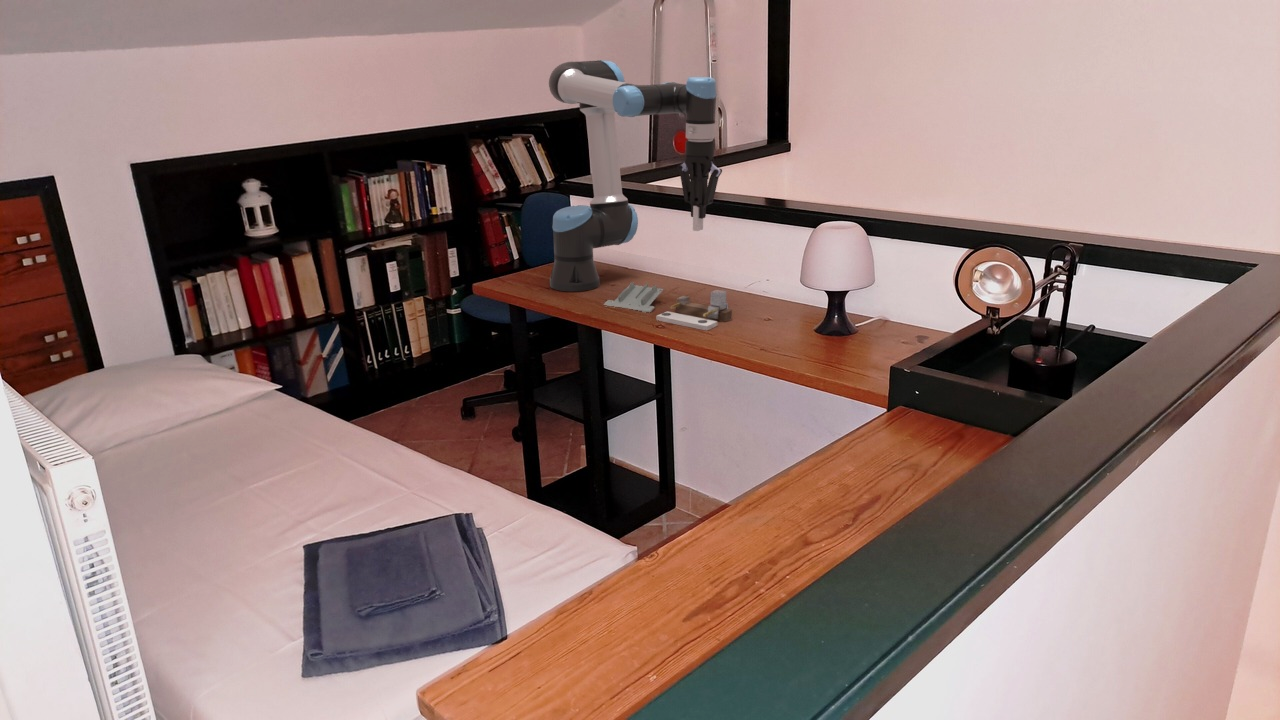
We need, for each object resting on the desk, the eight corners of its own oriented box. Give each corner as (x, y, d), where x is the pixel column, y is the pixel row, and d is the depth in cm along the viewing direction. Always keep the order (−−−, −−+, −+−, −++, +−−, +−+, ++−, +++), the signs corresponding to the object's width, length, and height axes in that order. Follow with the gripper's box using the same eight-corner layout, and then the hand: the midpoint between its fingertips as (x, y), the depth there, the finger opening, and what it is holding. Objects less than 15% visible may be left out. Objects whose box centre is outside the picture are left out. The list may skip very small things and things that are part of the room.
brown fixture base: (666, 315, 246) (666, 301, 245) (681, 309, 252) (681, 295, 250) (716, 326, 237) (717, 311, 236) (731, 319, 242) (731, 304, 241)
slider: (699, 320, 239) (699, 296, 236) (718, 312, 246) (718, 288, 243) (708, 322, 237) (709, 298, 235) (728, 314, 244) (728, 290, 242)
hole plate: (656, 320, 243) (656, 315, 242) (667, 315, 246) (667, 310, 246) (706, 330, 233) (707, 325, 233) (717, 325, 237) (717, 321, 237)
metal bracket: (624, 276, 264) (670, 282, 257) (627, 294, 267) (673, 300, 260) (599, 302, 254) (647, 309, 247) (603, 319, 257) (650, 327, 250)
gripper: (671, 139, 237) (669, 228, 245) (713, 143, 229) (710, 235, 237) (687, 136, 242) (686, 224, 250) (729, 140, 235) (726, 230, 243)
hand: (697, 229), depth 244 cm, fingers closed
